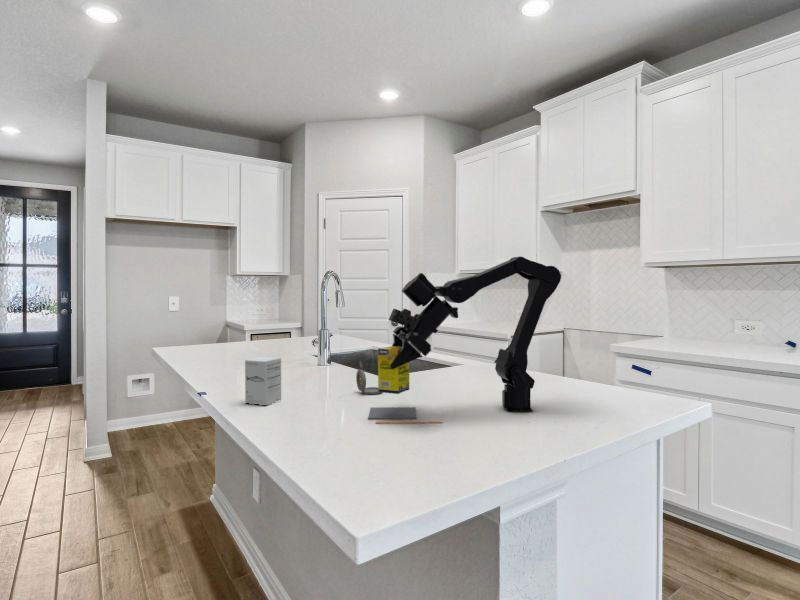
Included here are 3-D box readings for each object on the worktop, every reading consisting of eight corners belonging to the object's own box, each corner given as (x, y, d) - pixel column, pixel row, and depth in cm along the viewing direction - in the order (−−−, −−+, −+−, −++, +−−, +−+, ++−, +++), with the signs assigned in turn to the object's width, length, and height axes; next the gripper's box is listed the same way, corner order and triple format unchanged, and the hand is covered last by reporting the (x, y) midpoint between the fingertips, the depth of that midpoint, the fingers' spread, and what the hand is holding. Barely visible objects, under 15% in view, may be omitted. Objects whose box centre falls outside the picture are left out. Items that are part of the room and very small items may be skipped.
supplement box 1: (244, 404, 134) (243, 359, 133) (261, 398, 140) (260, 355, 140) (266, 406, 131) (265, 361, 130) (282, 400, 138) (281, 357, 137)
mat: (415, 408, 127) (415, 407, 127) (416, 419, 117) (416, 417, 117) (370, 408, 127) (370, 407, 127) (368, 419, 117) (368, 417, 117)
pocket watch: (387, 391, 148) (386, 359, 148) (371, 397, 141) (370, 363, 140) (365, 388, 152) (365, 357, 152) (349, 394, 145) (348, 361, 145)
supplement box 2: (398, 394, 115) (397, 349, 115) (377, 392, 118) (376, 348, 118) (410, 389, 120) (409, 346, 120) (389, 387, 123) (389, 345, 123)
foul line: (441, 421, 115) (441, 420, 115) (442, 423, 114) (442, 421, 114) (375, 422, 115) (375, 421, 115) (375, 423, 114) (375, 422, 114)
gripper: (400, 296, 129) (360, 338, 127) (416, 298, 110) (370, 347, 108) (428, 324, 130) (390, 366, 129) (449, 330, 112) (404, 380, 110)
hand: (388, 364), depth 119 cm, fingers closed on supplement box 2, 8 cm apart
